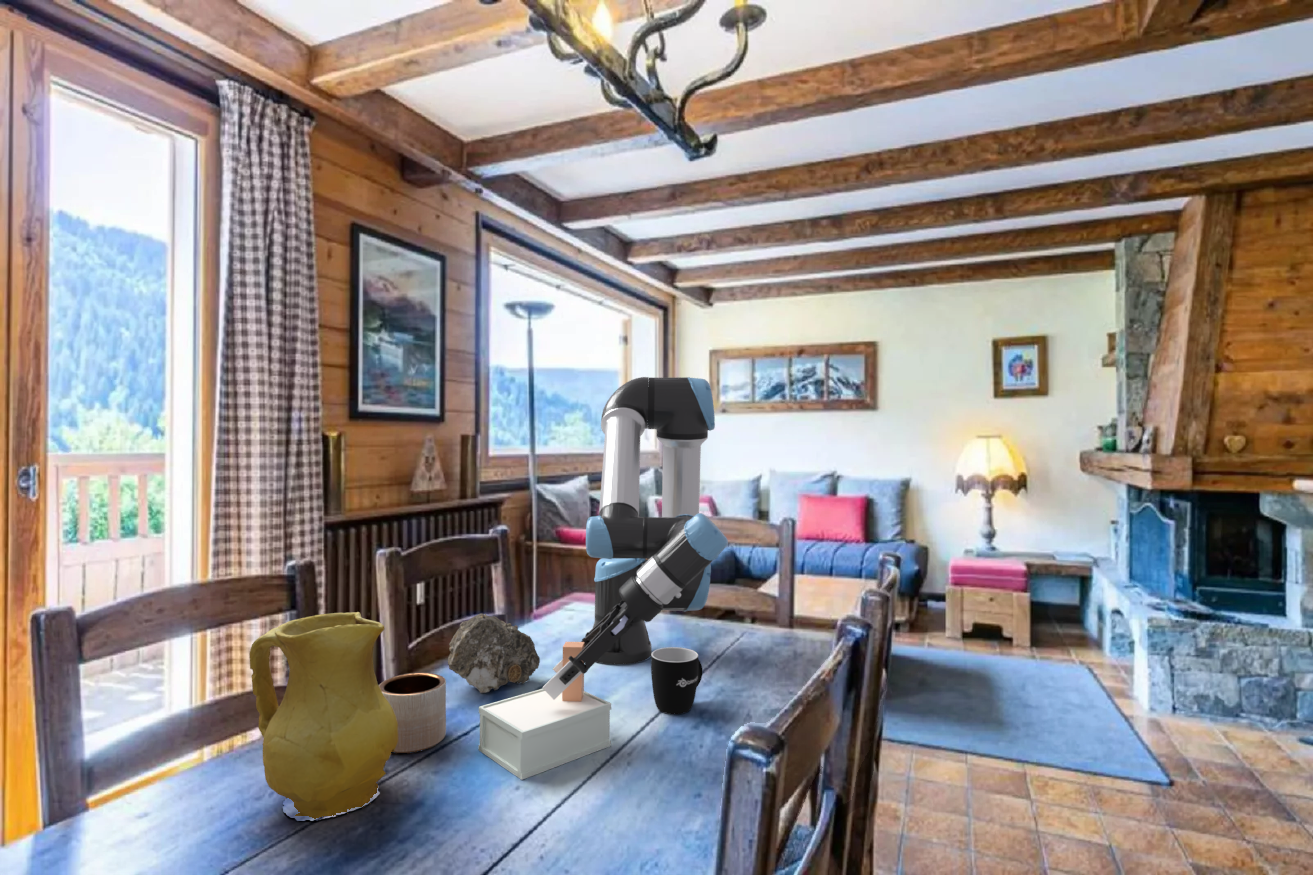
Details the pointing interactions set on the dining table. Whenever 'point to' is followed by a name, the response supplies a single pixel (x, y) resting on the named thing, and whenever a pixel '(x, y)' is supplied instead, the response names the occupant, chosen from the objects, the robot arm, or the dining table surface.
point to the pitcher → (324, 713)
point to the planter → (417, 709)
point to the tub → (543, 738)
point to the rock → (492, 653)
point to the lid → (548, 700)
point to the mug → (675, 678)
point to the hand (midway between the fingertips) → (553, 683)
